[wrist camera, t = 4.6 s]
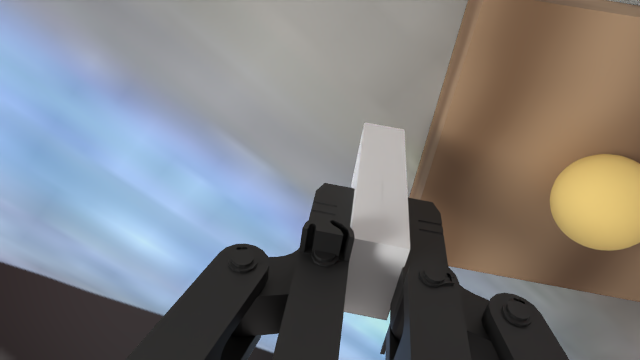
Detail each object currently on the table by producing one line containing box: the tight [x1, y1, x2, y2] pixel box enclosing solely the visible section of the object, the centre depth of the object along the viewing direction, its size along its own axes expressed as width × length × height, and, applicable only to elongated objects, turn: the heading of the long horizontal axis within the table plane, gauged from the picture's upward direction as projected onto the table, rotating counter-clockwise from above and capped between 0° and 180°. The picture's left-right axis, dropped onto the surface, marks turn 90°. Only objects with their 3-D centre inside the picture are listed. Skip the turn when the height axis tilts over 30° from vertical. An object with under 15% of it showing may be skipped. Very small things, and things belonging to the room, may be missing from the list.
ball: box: [550, 154, 640, 251], centre depth 16 cm, size 4×4×4 cm
